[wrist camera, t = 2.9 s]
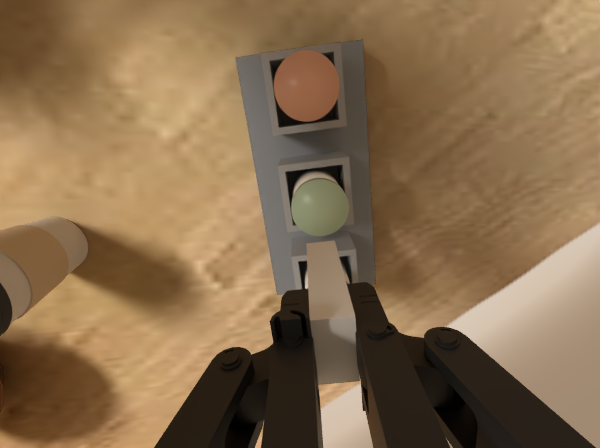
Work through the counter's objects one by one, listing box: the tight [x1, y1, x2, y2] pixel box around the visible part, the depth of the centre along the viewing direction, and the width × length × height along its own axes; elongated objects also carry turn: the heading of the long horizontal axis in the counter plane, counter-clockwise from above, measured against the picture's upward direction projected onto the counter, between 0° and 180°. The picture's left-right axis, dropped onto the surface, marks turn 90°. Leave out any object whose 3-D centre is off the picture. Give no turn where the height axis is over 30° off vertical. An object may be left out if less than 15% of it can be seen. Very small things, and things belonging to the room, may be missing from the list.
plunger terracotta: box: [274, 50, 339, 122], centre depth 25 cm, size 5×5×6 cm
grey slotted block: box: [236, 40, 376, 295], centre depth 33 cm, size 26×12×8 cm, turn 7°
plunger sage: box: [291, 169, 349, 236], centre depth 28 cm, size 5×5×6 cm
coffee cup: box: [0, 217, 88, 336], centre depth 32 cm, size 9×9×15 cm
